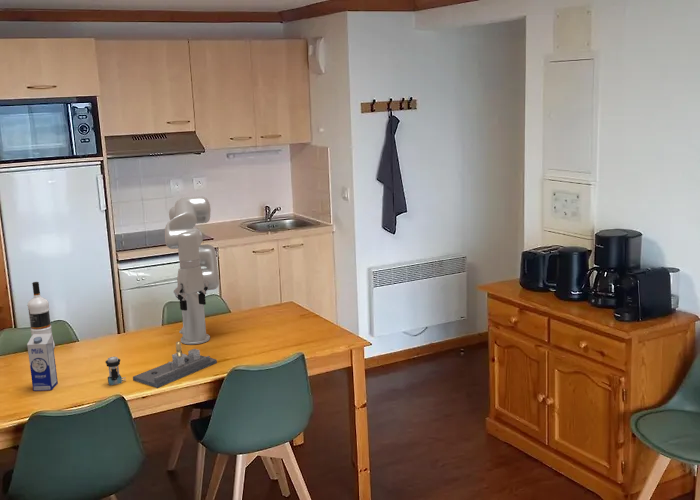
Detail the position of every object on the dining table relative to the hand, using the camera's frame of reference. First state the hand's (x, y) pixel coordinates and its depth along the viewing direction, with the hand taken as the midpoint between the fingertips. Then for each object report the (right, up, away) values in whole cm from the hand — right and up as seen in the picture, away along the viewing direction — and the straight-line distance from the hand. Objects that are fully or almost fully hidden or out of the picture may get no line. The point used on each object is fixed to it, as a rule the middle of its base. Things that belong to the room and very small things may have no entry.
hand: (193, 307), depth 291 cm
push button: (-27, -28, -9) cm, 40 cm away
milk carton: (-53, -29, -11) cm, 61 cm away
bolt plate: (-7, -25, 0) cm, 26 cm away
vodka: (-71, -21, +31) cm, 80 cm away
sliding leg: (-6, -23, 0) cm, 24 cm away
